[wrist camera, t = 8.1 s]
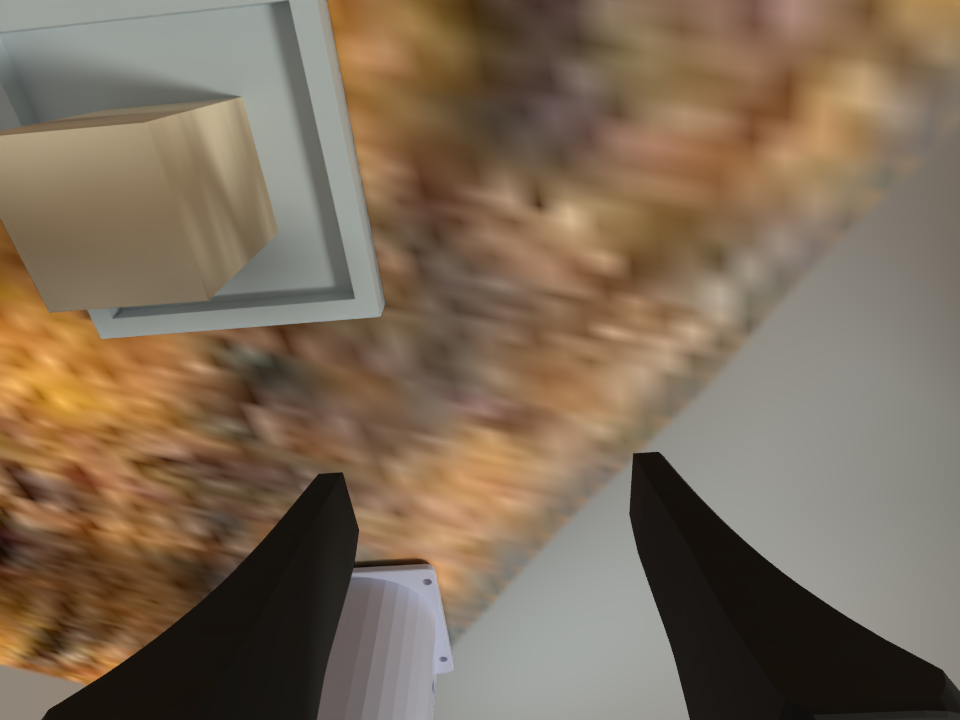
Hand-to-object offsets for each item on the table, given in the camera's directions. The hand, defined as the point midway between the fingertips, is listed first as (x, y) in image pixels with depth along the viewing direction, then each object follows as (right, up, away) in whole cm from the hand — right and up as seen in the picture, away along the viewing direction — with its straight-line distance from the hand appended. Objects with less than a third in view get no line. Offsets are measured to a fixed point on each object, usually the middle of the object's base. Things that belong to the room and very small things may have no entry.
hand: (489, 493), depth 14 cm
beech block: (-10, +10, +5) cm, 15 cm away
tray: (-10, +10, +6) cm, 15 cm away
